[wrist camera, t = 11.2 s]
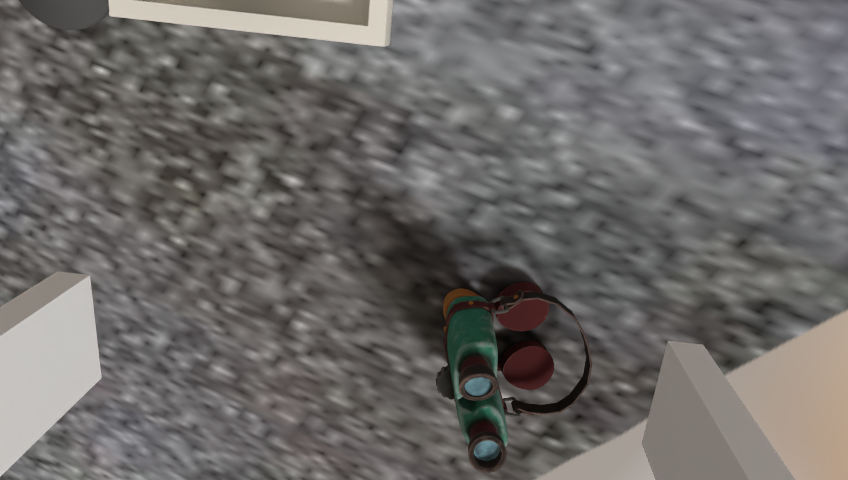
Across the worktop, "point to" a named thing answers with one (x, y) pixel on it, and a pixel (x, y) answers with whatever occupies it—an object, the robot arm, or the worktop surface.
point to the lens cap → (68, 12)
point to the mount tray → (273, 17)
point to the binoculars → (497, 365)
